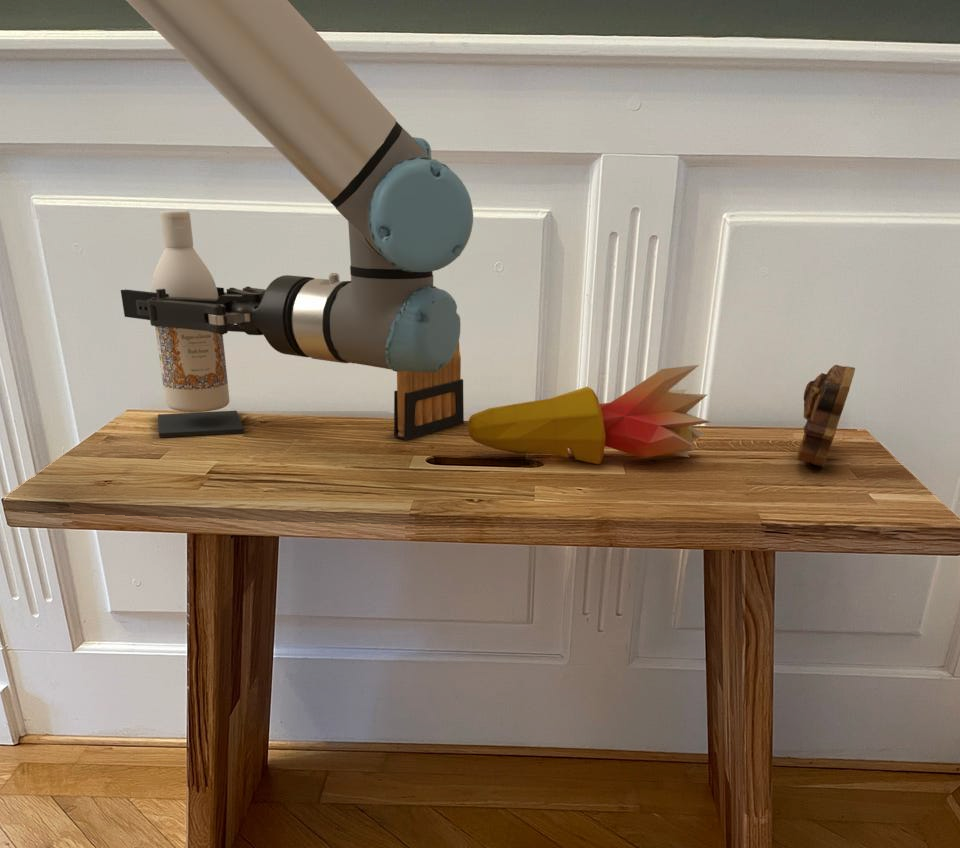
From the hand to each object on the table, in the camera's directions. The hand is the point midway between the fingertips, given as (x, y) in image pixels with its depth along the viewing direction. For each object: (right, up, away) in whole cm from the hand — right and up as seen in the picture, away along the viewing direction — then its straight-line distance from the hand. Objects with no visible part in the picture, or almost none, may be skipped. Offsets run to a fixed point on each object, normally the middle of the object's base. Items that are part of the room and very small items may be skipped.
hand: (154, 299), depth 100 cm
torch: (+47, -19, -5) cm, 51 cm away
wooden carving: (+71, -19, -4) cm, 74 cm away
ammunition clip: (+30, -14, +4) cm, 33 cm away
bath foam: (+4, -11, +3) cm, 12 cm away
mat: (+4, -13, +4) cm, 14 cm away
